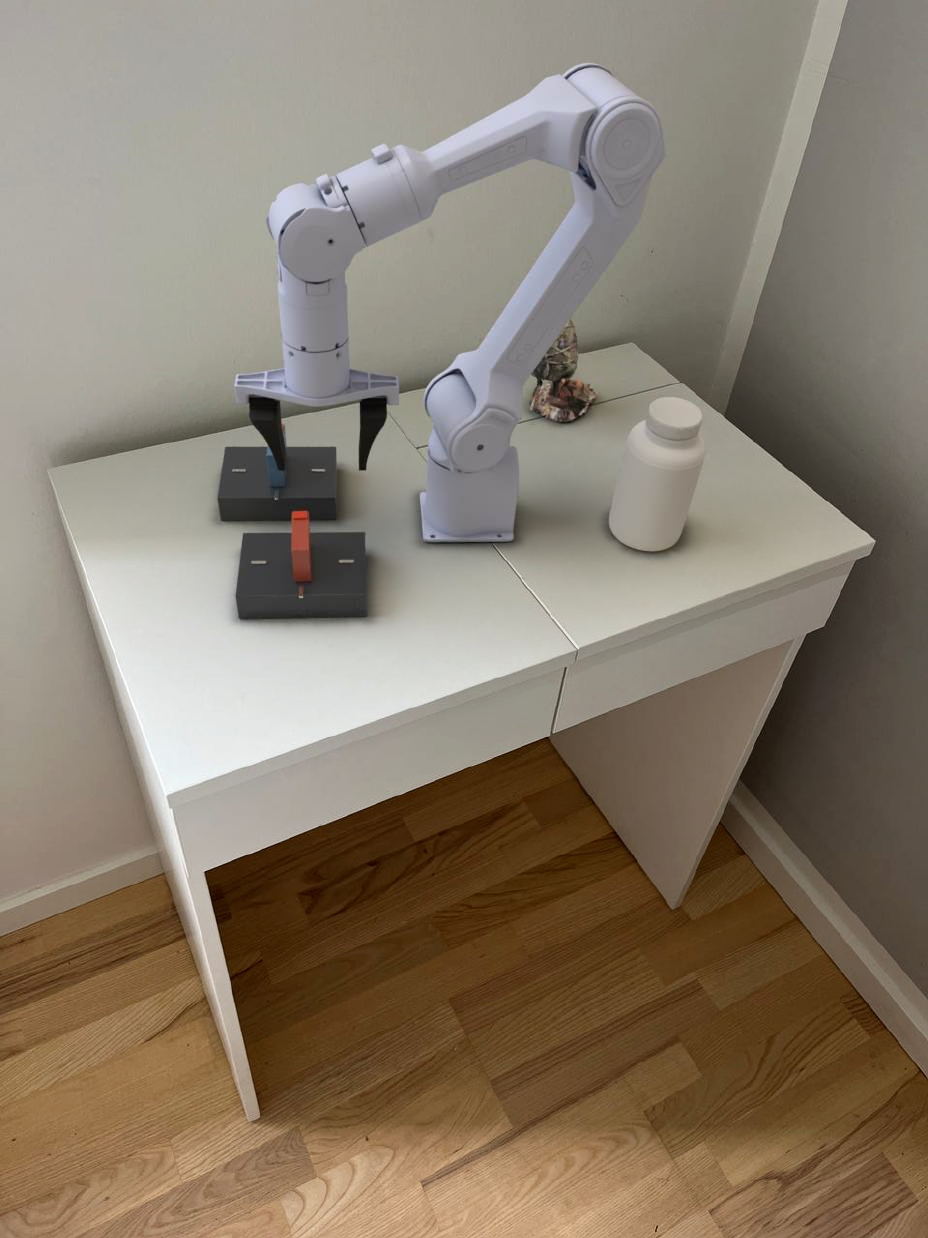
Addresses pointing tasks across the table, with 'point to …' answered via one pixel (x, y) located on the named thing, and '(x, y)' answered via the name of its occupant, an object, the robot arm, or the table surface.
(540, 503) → the table surface
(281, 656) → the table surface
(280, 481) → the cold tap
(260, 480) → the panel
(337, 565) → the hot tap panel
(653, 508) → the pill bottle
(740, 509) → the table surface
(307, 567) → the block
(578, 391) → the plant with pod
